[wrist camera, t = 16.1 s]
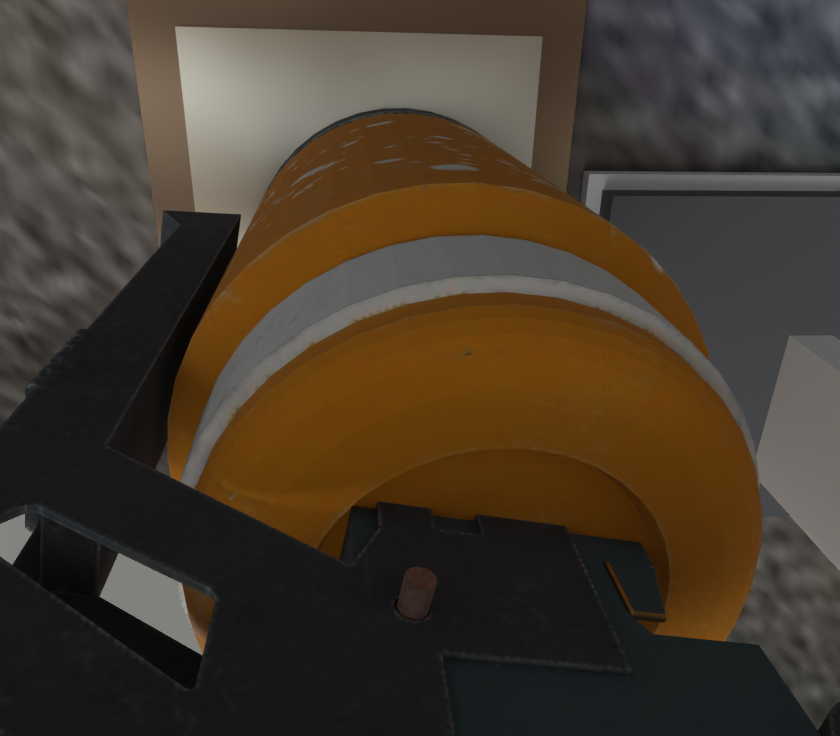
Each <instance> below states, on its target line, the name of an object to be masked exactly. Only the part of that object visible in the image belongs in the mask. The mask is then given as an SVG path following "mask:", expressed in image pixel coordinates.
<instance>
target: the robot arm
mask: <svg viewBox="0 0 840 736" xmlns="http://www.w3.org/2000/svg"><path fill="white" fill-rule="evenodd" d="M756 459H757V466H758V473H759V480H760V483H761V484H762V485H763V486H764V487H765V488H766V489H767V490H768V492H769V493H770V494H771V495H772V496H773V497H774V498H775V499H776V501H777V502H778V503H779V504H780V505H781V506H782V507H783V508H784V509H785V511H786V512H787V513H788V514H789V515H790V516H791V517H792V518H793V520H794V521H795V522H796V523H797V524H798V525H799V526H800V527H801V528H802V530H803V531H804V532H805V533H806V534H807V535H808V536H809V537H810V539H811V540H812V541H813V542H814V543H815V544H816V545H817V546H818V547H819V549H820V550H821V551H822V552H823V553H824V554H825V555H826V556H827V558H828V559H829V560H830V561H831V562H832V563H833V564H834V565H835V566H836V568H837V569H838V570H839V571H840V340H839V339H837V338H836V337H834V336H833V335H804V336H789V338H788V342H787V346H786V349H785V353H784V357H783V360H782V364H781V367H780V371H779V375H778V378H777V382H776V385H775V389H774V393H773V396H772V400H771V404H770V407H769V411H768V414H767V418H766V422H765V425H764V429H763V432H762V436H761V440H760V443H759V447H758V451H757V454H756Z"/></svg>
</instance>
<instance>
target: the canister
mask: <svg viewBox="0 0 840 736" xmlns="http://www.w3.org/2000/svg"><path fill="white" fill-rule="evenodd" d="M240 220H241V214H226V213H207V212H187V211H168V210H163V216H162V229H161V241H160V247H159V249H158V250H157V251H156V252H155V253H154V254H153V255H152V256H151V258H150V259H149V260H148V261H147V262H146V263H145V264H144V265H143V267H142V268H141V269H140V270H139V271H138V272H137V273H136V275H135V276H134V277H133V278H132V279H131V280H130V281H129V282H128V284H127V285H126V286H125V287H124V288H123V289H122V290H121V291H120V293H119V294H118V295H117V296H116V297H115V298H114V299H113V300H112V302H111V303H110V304H109V305H108V306H107V307H106V308H105V310H104V311H103V312H102V313H101V314H100V315H99V316H98V317H97V319H96V320H95V321H94V322H93V323H92V324H91V325H90V326H89V328H88V329H82V328H81V329H79V330H78V331H76V333H75V334H74V335H73V336H72V339H71V340H69V341H68V342H66V343H65V345H64V346H63V347H62V351H59V352H58V353H56V354H55V355H54V357H53V358H52V359H51V363H49V364H47V365H46V366H44V368H43V369H42V370H41V371H40V372H39V376H37V377H36V378H34V379H33V380H32V381H31V382H30V383H29V384H28V385H27V386H26V399H25V400H24V401H23V402H22V403H21V404H20V405H19V407H18V408H17V409H16V410H15V411H14V412H13V413H12V414H11V416H10V417H9V418H8V419H7V420H6V421H5V422H4V424H3V425H2V426H1V427H0V524H1V523H3V522H6V521H8V520H10V519H13V518H15V517H17V516H20V515H22V514H25V528H26V529H27V530H29V531H30V532H33V533H32V535H31V536H30V538H29V539H28V541H27V543H26V544H25V546H24V548H23V549H22V551H21V552H20V554H19V555H18V557H17V558H16V560H15V562H14V563H13V565H11V564H10V563H9V562H7V561H6V560H4V559H3V558H1V557H0V736H840V702H839V703H837V704H836V705H835V706H834V707H833V708H832V709H831V711H830V712H829V714H828V715H827V717H826V719H825V720H824V722H823V723H822V725H821V726H820V728H819V730H817V729H816V727H815V726H814V725H813V723H812V722H811V720H810V719H809V717H808V716H807V714H806V713H805V711H804V710H803V709H802V707H801V706H800V704H799V703H798V701H797V700H796V698H795V697H794V695H793V694H792V693H791V691H790V690H789V688H788V687H787V685H786V684H785V682H784V681H783V679H782V678H781V677H780V675H779V674H778V672H777V671H776V669H775V668H774V666H773V665H772V663H771V662H770V661H769V659H768V658H767V656H766V655H765V653H764V652H763V650H762V649H761V648H760V646H759V645H755V644H745V643H735V642H725V640H726V638H727V637H728V635H729V634H730V632H731V630H732V629H733V627H734V626H735V624H736V622H737V620H738V617H739V615H740V613H741V610H742V608H743V606H744V603H745V601H746V599H747V596H748V594H749V592H750V589H751V585H752V581H753V577H754V573H755V569H756V565H757V561H758V556H759V552H760V548H761V529H762V507H761V500H760V493H759V485H760V480H759V473H758V466H757V459H756V452H755V445H754V442H753V439H752V436H751V433H750V431H749V428H748V425H747V422H746V419H745V417H744V414H743V411H742V408H741V406H740V405H739V403H738V401H737V400H736V398H735V397H734V395H733V393H732V392H731V390H730V388H729V387H728V385H727V383H726V382H725V380H724V378H723V377H722V375H721V374H720V372H719V371H718V370H717V369H716V368H715V367H714V366H713V365H712V364H711V363H710V359H709V353H708V350H707V347H706V344H705V341H704V339H703V336H702V333H701V330H700V328H699V325H698V322H697V320H696V317H695V315H694V313H693V311H692V310H691V308H690V306H689V305H688V303H687V301H686V300H685V298H684V296H683V295H682V293H681V291H680V290H679V288H678V286H677V285H676V283H675V281H674V280H673V279H672V278H671V277H670V276H669V275H668V274H667V273H666V271H665V270H664V269H663V268H662V267H661V266H660V265H659V264H658V262H657V261H656V260H655V259H654V258H653V257H652V256H651V255H650V254H649V252H648V251H647V250H645V249H644V248H643V247H641V246H640V245H639V244H638V243H636V242H635V241H634V240H632V239H631V238H630V237H628V236H627V235H626V234H625V233H623V232H622V231H621V230H619V229H618V228H617V227H615V226H614V225H613V224H611V223H610V222H609V221H607V220H606V219H604V218H603V217H601V216H600V215H598V214H597V213H595V212H594V211H592V210H591V209H589V208H588V207H586V206H585V205H584V204H582V203H581V202H579V201H578V200H576V199H575V198H573V197H572V196H570V195H569V194H567V193H566V192H564V191H563V190H561V189H560V188H559V187H557V186H556V185H554V184H553V183H551V182H550V181H548V180H547V179H545V178H544V177H542V176H541V175H539V174H538V173H537V172H535V171H534V170H532V169H531V168H529V167H528V166H526V165H525V164H523V163H522V162H520V161H519V160H517V159H516V158H514V157H513V156H512V155H510V154H509V153H507V152H506V151H504V150H503V149H501V148H500V147H498V146H497V145H495V144H494V143H492V142H491V141H489V140H488V139H487V138H485V137H483V136H482V135H481V134H479V133H478V132H476V131H475V130H473V129H471V128H469V127H467V126H466V125H464V124H462V123H460V122H458V121H456V120H454V119H452V118H449V117H445V116H442V115H439V114H436V113H433V112H430V111H423V110H416V109H410V108H384V109H377V110H372V111H367V112H361V113H357V114H355V115H352V116H349V117H347V118H344V119H341V120H338V121H336V122H334V123H332V124H331V125H329V126H327V127H325V128H324V129H322V130H320V131H318V132H317V133H315V134H314V135H312V136H311V137H310V138H309V139H308V140H306V141H305V142H304V143H303V144H301V145H300V146H299V147H298V148H297V149H296V150H295V151H294V152H293V153H292V154H291V155H290V157H289V158H288V159H287V160H286V161H285V162H284V163H283V165H282V166H281V167H280V169H279V170H278V172H277V174H276V175H275V177H274V178H273V180H272V182H271V183H270V185H269V187H268V189H267V191H266V193H265V195H264V197H263V198H262V200H261V202H260V204H259V206H258V208H257V210H256V212H255V214H254V216H253V218H252V220H251V222H250V224H249V226H248V228H247V230H246V232H245V234H244V236H243V238H242V240H241V242H240V244H239V246H238V248H237V244H238V236H239V228H240ZM167 441H168V463H169V468H170V473H171V477H169V476H167V475H165V474H163V473H161V472H159V471H157V470H155V468H156V466H157V464H158V462H159V459H160V457H161V455H162V452H163V450H164V448H165V446H166V443H167ZM118 553H120V554H122V555H124V556H127V557H129V558H131V559H133V560H135V561H137V562H139V563H141V564H143V565H145V566H147V567H149V568H151V569H153V570H155V571H158V572H159V573H161V574H164V575H166V576H168V577H170V578H172V579H174V580H175V581H176V586H177V591H178V596H179V599H180V602H181V604H182V607H183V609H184V611H185V614H186V616H187V618H188V621H189V623H190V625H191V628H192V630H193V632H194V634H195V636H196V639H197V641H198V643H199V646H200V648H201V650H202V653H203V656H202V655H200V654H198V653H197V652H195V651H193V650H192V649H190V648H188V647H186V646H185V645H183V644H181V643H179V642H178V641H176V640H174V639H172V638H171V637H169V636H167V635H165V634H163V633H162V632H160V631H158V630H157V629H155V628H153V627H151V626H150V625H148V624H146V623H144V622H142V621H141V620H139V619H137V618H136V617H134V616H132V615H130V614H129V613H127V612H125V611H123V610H122V609H120V608H118V607H116V606H114V605H113V604H111V603H109V602H108V601H106V600H104V599H102V598H101V597H99V596H100V594H101V591H102V589H103V587H104V585H105V582H106V580H107V578H108V576H109V573H110V571H111V569H112V567H113V564H114V562H115V560H116V557H117V555H118Z"/></svg>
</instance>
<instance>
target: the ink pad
mask: <svg viewBox="0 0 840 736" xmlns="http://www.w3.org/2000/svg"><path fill="white" fill-rule="evenodd" d="M580 202H581V203H582V204H584V205H585V206H586V207H588V208H589V209H591V210H592V211H594V212H595V213H597V214H598V215H600V216H601V217H603V218H604V219H606V220H607V221H609V222H610V223H611V224H613V225H614V226H615V227H617V228H618V229H619V230H621V231H622V232H623V233H625V234H626V235H627V236H628V237H630V238H631V239H632V240H634V241H635V242H636V243H638V244H639V245H640V246H641V247H643V248H644V249H645V250H647V251H648V252H649V254H650V255H651V256H652V257H653V258H654V259H655V260H656V261H657V262H658V264H659V265H660V266H661V267H662V268H663V269H664V270H665V271H666V273H667V274H668V275H669V276H670V277H671V278H672V279H673V280H674V281H675V283H676V285H677V286H678V288H679V290H680V291H681V293H682V295H683V296H684V298H685V300H686V301H687V303H688V305H689V306H690V308H691V310H692V311H693V313H694V315H695V317H696V320H697V322H698V325H699V328H700V330H701V333H702V336H703V339H704V341H705V344H706V347H707V350H708V353H709V359H710V363H711V364H712V365H713V366H714V367H715V368H716V369H717V370H718V371H719V372H720V374H721V375H722V377H723V378H724V380H725V382H726V383H727V385H728V387H729V388H730V390H731V392H732V393H733V395H734V397H735V398H736V400H737V401H738V403H739V405H740V406H741V408H742V411H743V414H744V417H745V419H746V422H747V425H748V428H749V431H750V433H751V436H752V439H753V442H754V445H755V452H756V454H757V451H758V447H759V443H760V440H761V436H762V432H763V429H764V425H765V422H766V418H767V414H768V411H769V407H770V404H771V400H772V396H773V393H774V389H775V385H776V382H777V378H778V375H779V371H780V367H781V364H782V360H783V357H784V353H785V349H786V346H787V342H788V338H789V336H804V335H833V336H834V337H836V338H837V339H839V340H840V173H781V172H660V171H584V172H583V181H582V189H581V198H580ZM759 493H760V500H761V507H762V516H783V515H789V514H788V513H787V512H786V511H785V509H784V508H783V507H782V506H781V505H780V504H779V503H778V502H777V501H776V499H775V498H774V497H773V496H772V495H771V494H770V493H769V492H768V490H767V489H766V488H765V487H764V486H763V485H762V484H761V483H760V485H759Z"/></svg>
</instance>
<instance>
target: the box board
mask: <svg viewBox="0 0 840 736" xmlns="http://www.w3.org/2000/svg"><path fill="white" fill-rule="evenodd" d="M126 2H127V10H128V17H129V25H130V32H131V40H132V47H133V55H134V62H135V70H136V77H137V85H138V92H139V100H140V107H141V115H142V122H143V130H144V137H145V145H146V152H147V160H148V167H149V175H150V182H151V190H152V197H153V205H154V212H155V220H156V227H157V235H158V242H159V247H160V241H161V229H162V216H163V210H168V211H187V212H207V213H226V214H241V220H240V228H239V236H238V244H237V248H238V246H239V244H240V242H241V240H242V238H243V236H244V234H245V232H246V230H247V228H248V226H249V224H250V222H251V220H252V218H253V216H254V214H255V212H256V210H257V208H258V206H259V204H260V202H261V200H262V198H263V197H264V195H265V193H266V191H267V189H268V187H269V185H270V183H271V182H272V180H273V178H274V177H275V175H276V174H277V172H278V170H279V169H280V167H281V166H282V165H283V163H284V162H285V161H286V160H287V159H288V158H289V157H290V155H291V154H292V153H293V152H294V151H295V150H296V149H297V148H298V147H299V146H300V145H301V144H303V143H304V142H305V141H306V140H308V139H309V138H310V137H311V136H312V135H314V134H315V133H317V132H318V131H320V130H322V129H324V128H325V127H327V126H329V125H331V124H332V123H334V122H336V121H338V120H341V119H344V118H347V117H349V116H352V115H355V114H357V113H361V112H367V111H372V110H377V109H384V108H410V109H416V110H423V111H430V112H433V113H436V114H439V115H442V116H445V117H449V118H452V119H454V120H456V121H458V122H460V123H462V124H464V125H466V126H467V127H469V128H471V129H473V130H475V131H476V132H478V133H479V134H481V135H482V136H483V137H485V138H487V139H488V140H489V141H491V142H492V143H494V144H495V145H497V146H498V147H500V148H501V149H503V150H504V151H506V152H507V153H509V154H510V155H512V156H513V157H514V158H516V159H517V160H519V161H520V162H522V163H523V164H525V165H526V166H528V167H529V168H531V169H532V170H534V171H535V172H537V173H538V174H539V175H541V176H542V177H544V178H545V179H547V180H548V181H550V182H551V183H553V184H554V185H556V186H557V187H559V188H560V189H561V190H563V191H564V192H566V189H567V180H568V171H569V162H570V153H571V144H572V134H573V125H574V116H575V107H576V98H577V89H578V80H579V70H580V61H581V52H582V43H583V34H584V25H585V15H586V6H587V0H126Z"/></svg>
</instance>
